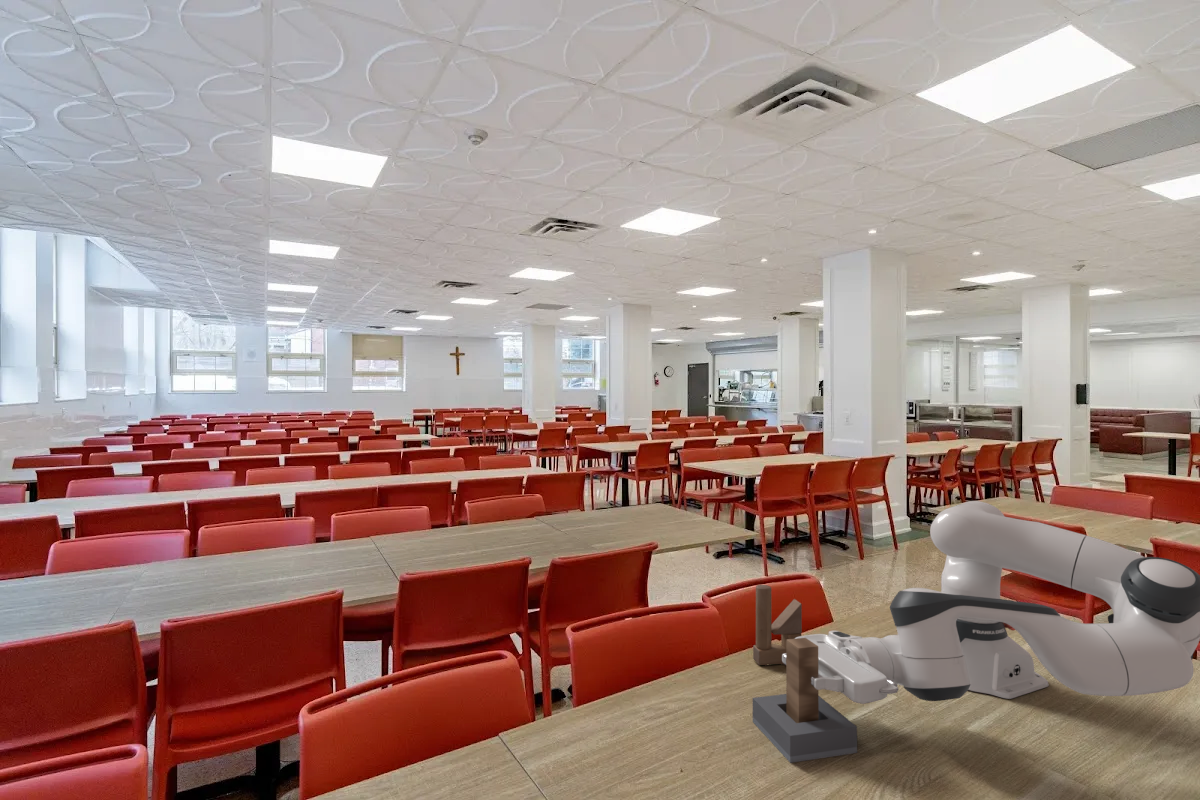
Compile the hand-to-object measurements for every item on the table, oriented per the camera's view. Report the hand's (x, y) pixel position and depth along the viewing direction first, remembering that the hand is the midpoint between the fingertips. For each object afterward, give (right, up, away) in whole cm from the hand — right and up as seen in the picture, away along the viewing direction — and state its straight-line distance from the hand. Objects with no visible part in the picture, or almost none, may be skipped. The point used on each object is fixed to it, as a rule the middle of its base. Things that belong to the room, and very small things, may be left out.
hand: (797, 670), depth 103 cm
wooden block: (+6, -13, +31) cm, 34 cm away
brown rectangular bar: (+1, -11, 0) cm, 11 cm away
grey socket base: (+1, -12, 0) cm, 12 cm away
